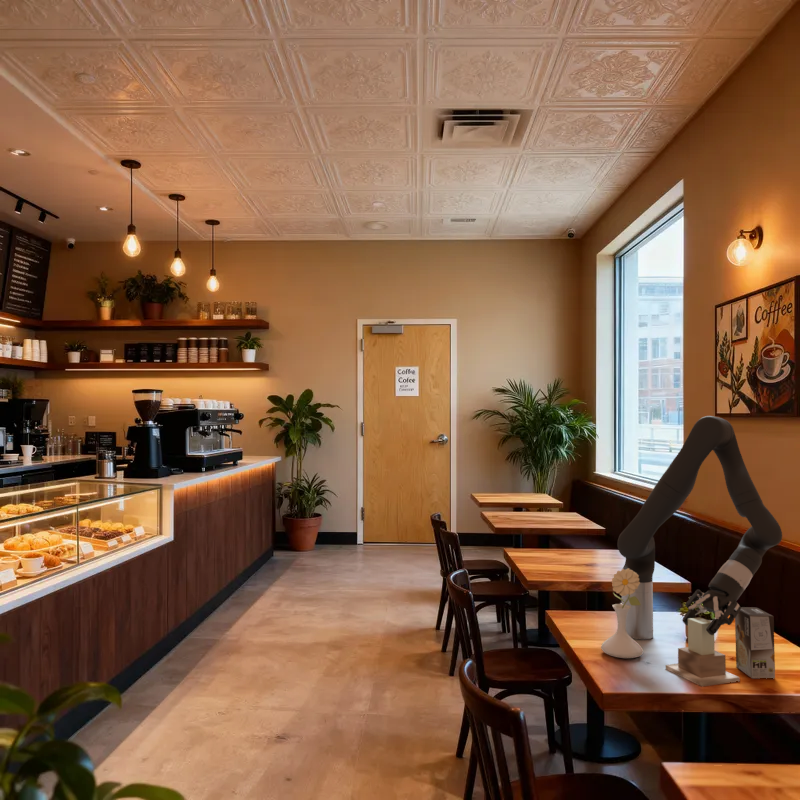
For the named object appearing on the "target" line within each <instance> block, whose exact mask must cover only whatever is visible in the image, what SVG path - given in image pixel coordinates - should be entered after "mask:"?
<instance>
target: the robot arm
mask: <svg viewBox="0 0 800 800" xmlns="http://www.w3.org/2000/svg"><path fill="white" fill-rule="evenodd" d="M711 452H714V454H715V455H716V457H717V459H718V461H719V463H720V465H721V468H722V471H723V476H724V480H725V485H726V489H727V492H728V494H729V497H730V499H731V501H732V504H733V505H734V507H735V509H736V512H737V514H738V515H739V517H741V518H746V519H747V521H748V522H749V524H750V527H749V528H748V529H747V530H746V531H745V532H744V534H743V536H742V537H741V540H740V541H739V543H738V544H737V545H738V546H737V547H736V549H735V550H734V551H733V552H732V554H731V555H730V556H729V558H728V560H726V562H724V563H723V564H722V566H720V568H719V570H718V571H717V573H716V574H715V575H714V577H713V578H712V579H711V580H710V582H709V583H708V590H707V591H706V592H702V591H701V590H700V589H698V588H697V589H696V590H695V591H694V592H693V594H692V595H691V596H690V597H689V599H688V600H687V601H686V602H685V604H684V606H685V607H687V609H688V610H687V612H686V613H685V615H684V616H683V617H682V623H683V624H684V625H686V626H687V627H688V618H697V615H699V614H701V613H706V612H710V613H713V614H714V618H712V620H710V621H711V623H710V624H709V626H708V627H707V628H706V631H707V632H708V633H709V634H710V635H714V636H715V634H716V633H717V632H718V631H719V629H720V628H721V626H724V625H725V624H726V625H727V626H731V625H732V623H733V622H734V621H735V617H736V616H737V614H738V613H739V611H740V609H741V606H740V604H739V603H738V602H737V601H738V600H739V599H740V597H741V596H742V594H743V593H744V591H745V590H746V588H747V587H748V586H749V584H750V582H751V580H752V578H753V577H754V575H755V573H757V571H758V570H759V568H760V566H761V565H762V562H763V557H764V555H765V554H766V553H767V551H768V550H769V549H771V548H773V547H775V546H778V545H779V544H780V543H781V542H782V539H783V532H782V528H781V526H780V524H779V522H778V521H777V519H776V518H775V516H774V515H773V514H772V513H771V512H770V510H769V509H768V508H767V507H766V505H765V504H764V503H763V499H762V498H761V496H760V494H759V492H758V490H757V488H756V485H755V484H754V482H753V480H752V477H751V475H750V473H749V471H748V469H747V466H746V464H745V461H744V459H743V456H742V453H741V450H740V447H739V443H738V441H737V436H736V434H735V431H734V428H733V425H732V423H730V422H729V421H728V420H727V419H724V418H722V417H719V416H714V415H706V416H702V417H701V418H699V419H698V420H697V421H696V422H695V423H694V424H693V427H692V428H691V430H690V432H689V433H688V436H687V437H686V439H685V441H684V443H683V445H682V447H681V449H680V450H679V452H678V453H677V454H676V456H675V457H674V458H673V460H672V461H671V463H670V464H669V466H668V467H667V469H666V470H665V471H664V473H663V474H662V476H661V477H660V479H659V480H657V481H658V482H657V483H656V484H655V485H654V487H653V489H652V491H651V492H650V493H649V495H648V497H647V498H646V500H645V502H643V504H642V506H641V508H640V510H639V511H638V513H637V514H636V515H635V517H634V518H633V519H632V520H631V521H630V522H629V524H628V525H627V526H626V527H625V528H624V529H623V530H622V531H621V533H620V534H619V536H618V539H617V550H618V552H619V554H620V555H621V556H622V557H623V558H625V562H624V564H623V567H622V569H624V570H626V569H628V568H629V569H630V570H632V571H633V572H635V573H637V574H638V575H639V577H638V578H639V582H640V584H639V586H638V588H637V589H635V592H634V593H633V594H631V595H630V597H633V596H635V597H636V598H637V599H638V601H639V602H640V604H641V605H635V606H633V605H631V604H630V602H629V599H628V596H629V594H627V595H626V596H621V598H622V599H623V600H624V602H623V601H622V600H621V602H619V604H624V603H625V602H626V600H627V599H628V601H627V602H626V604H625V605H628V606H630V607H631V608H630V609H629V611H628V613H627V616H626V631H627V634H628V635H629V636H630V637H631V638H632V639H633V640H650V639H653V638H654V600H653V598H654V595H653V592H654V591H653V590H654V589H653V588H654V587H653V575H654V571H655V565H656V563H655V562H656V542H655V537H654V536H655V534H656V533H657V531H658V530H659V528H660V527H661V526H662V525H663V524H664V523H665V522H666V521H667V520H669V519H670V518H671V517H672V516H673V515H674V514H675V513H676V512H677V511H678V510H679V509H680V508H681V507H682V506H683V504H684V502H686V499H687V498H688V497H689V496H690V494H691V493H692V491H693V490H694V487H695V484H696V482H697V478H698V473H699V470H700V468H701V467H702V464H703V463H704V461H705V460H706V459H707V457H708V456H709V455H710V454H711ZM630 597H629V598H630ZM692 603H693V604H692Z"/></svg>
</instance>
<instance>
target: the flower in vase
mask: <svg viewBox="0 0 800 800" xmlns="http://www.w3.org/2000/svg"><path fill="white" fill-rule="evenodd" d="M638 577H639V575H638V574H637V573H635V572H633V571H632V570H630V569H629V568H628V569H626V570H624V569H623V568H622V569H621V570H617V571H616V573H615V574H613V577H612V578H611V583H612V584H611V585H612V594H613V596H614V597H616V598H617V599H619V600H620V601H621V602H622V601H623V602H624V600H623V599H622V596H626V595H627V594H629V596H628V599H629V602H630V604H631V605H633V606H635V605H641V604H640V602H639V601H638V599H637V598H636V597H635V596H633V597H630V595H631V594H633V593H634V592H635V589H637V588H638V586H639V584H640V582H639V578H638ZM615 593H616V594H615ZM617 594H619V596H618V595H617ZM620 596H621V597H620ZM629 597H630V598H629ZM628 599H627V600H626V602H627V601H628ZM626 602H625V603H624V604H620V603H615V604H611V605H612V608H613V610H614V611H615V614H616V621H617V629H616V632H615V633H614V634H612V635H611V636H610V637H608V638H607V639H606V640H604V641H603V643H602V644H601V646H600V648H601V650H602V651H603V653H605V654H606V655H609V656H611V657H614V658H618V659H634V658H639V657H641V656H642V654H644V650H643V648H642V646H641V645H640V644H639V643H638V642H637V641H636V639H634V638H631V637H630V636H629V635H628V634H627V631H626V616H627V613H628V611H629V609H630V608H631V607H630V606H628V605H625V604H626Z"/></svg>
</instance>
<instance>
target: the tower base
mask: <svg viewBox="0 0 800 800" xmlns="http://www.w3.org/2000/svg"><path fill="white" fill-rule="evenodd" d="M677 653H678V654H677V659H678V660H677V661H678V662H677V663H670V664H665V670H666V671H667V670H668V672H669V671H670V672H671V673H673V674H675V675H678V676H679V677H681V678H684V679H685V680H688V681H690V682H692V683H693V684H695V685H698V686H699V687H707V686H708V687H709V686H715V685H716V686H717V685H722V684H728V683H729V684H730V682H731V683H737V682H736V681H738V682H741V681H740V679H741V678H740V676H738V675H735V674H733V673H731V672H728V671H727V668H726V667H727V666H726V664H727V663H726V662H727V661H726V654H724V653H721V652H719V651H717V650H715V654H708V655H700V654H698V653H696V652H694V651H691V650H689V649H688V646H686V647H679V648H677Z"/></svg>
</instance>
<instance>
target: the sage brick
mask: <svg viewBox="0 0 800 800" xmlns="http://www.w3.org/2000/svg"><path fill="white" fill-rule="evenodd" d="M711 621H712V620H709V619H706V618H703V617H700V616H699V617H695V618H688V626H687V647H688V649H689V650H691V651H694V652H696V653H698V654H700V655H708V654H715V651H716V650H715V634H714V635H710V634H709V633H708V632H707V631H706V628H707V627H708V626H709V624H710V623H711Z"/></svg>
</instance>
